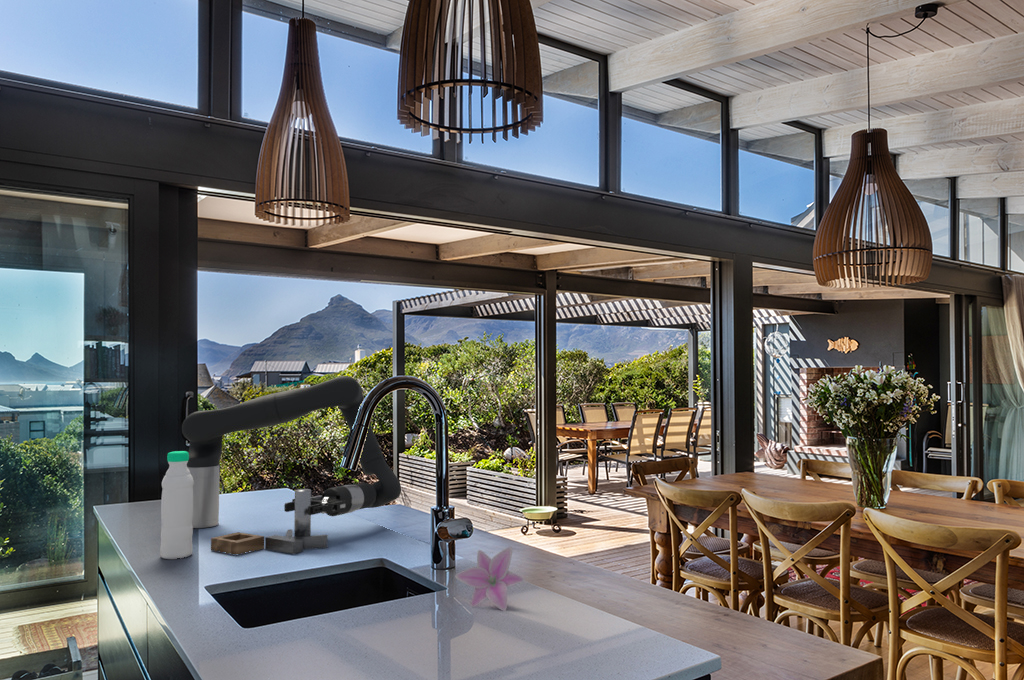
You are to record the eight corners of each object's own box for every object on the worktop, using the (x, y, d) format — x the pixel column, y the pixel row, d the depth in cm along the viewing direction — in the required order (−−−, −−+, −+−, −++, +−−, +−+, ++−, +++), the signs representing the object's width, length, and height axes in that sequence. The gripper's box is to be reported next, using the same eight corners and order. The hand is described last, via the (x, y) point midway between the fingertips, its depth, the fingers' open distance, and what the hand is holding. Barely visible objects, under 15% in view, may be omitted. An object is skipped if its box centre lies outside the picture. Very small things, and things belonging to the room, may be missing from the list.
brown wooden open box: (210, 550, 180) (211, 538, 180) (237, 543, 187) (238, 532, 187) (237, 555, 175) (237, 542, 175) (264, 548, 182) (264, 536, 182)
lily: (449, 604, 140) (446, 567, 135) (490, 569, 148) (488, 533, 143) (496, 636, 133) (494, 598, 128) (536, 598, 141) (535, 560, 136)
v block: (259, 548, 182) (259, 536, 182) (290, 540, 190) (290, 529, 190) (299, 555, 174) (299, 542, 175) (329, 547, 183) (329, 535, 183)
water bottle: (169, 561, 169) (171, 453, 171) (154, 557, 174) (156, 452, 175) (198, 555, 175) (199, 451, 176) (182, 551, 179) (184, 449, 181)
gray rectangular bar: (290, 546, 184) (291, 490, 185) (302, 543, 187) (303, 488, 188) (301, 548, 182) (302, 491, 183) (313, 545, 185) (314, 489, 186)
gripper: (324, 484, 201) (277, 492, 187) (362, 487, 194) (317, 496, 180) (324, 511, 201) (277, 521, 187) (362, 516, 193) (316, 527, 179)
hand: (296, 509), depth 183 cm, fingers open, 8 cm apart
